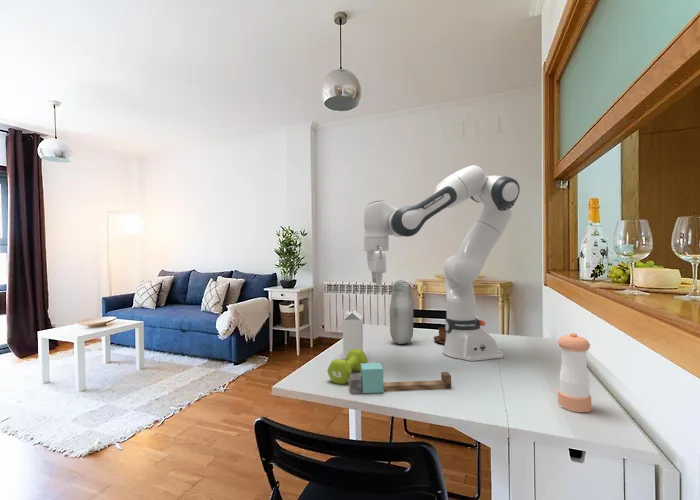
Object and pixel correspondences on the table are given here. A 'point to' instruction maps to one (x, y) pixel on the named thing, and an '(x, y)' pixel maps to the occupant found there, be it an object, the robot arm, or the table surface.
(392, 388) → the rail
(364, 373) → the block
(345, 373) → the dumbbell
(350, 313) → the milk carton
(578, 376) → the pepper shaker
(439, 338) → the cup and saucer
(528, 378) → the table surface
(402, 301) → the glass bottle
